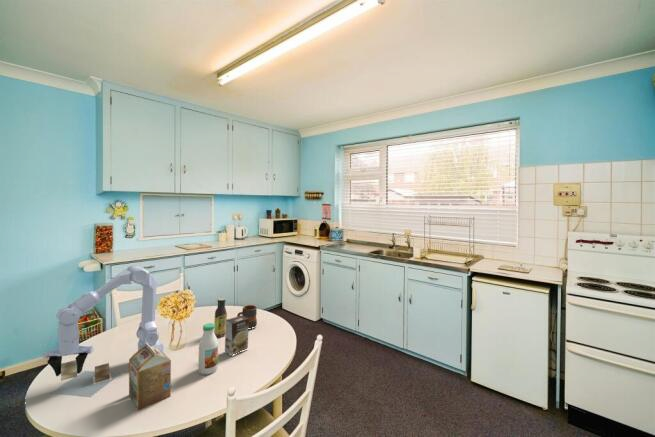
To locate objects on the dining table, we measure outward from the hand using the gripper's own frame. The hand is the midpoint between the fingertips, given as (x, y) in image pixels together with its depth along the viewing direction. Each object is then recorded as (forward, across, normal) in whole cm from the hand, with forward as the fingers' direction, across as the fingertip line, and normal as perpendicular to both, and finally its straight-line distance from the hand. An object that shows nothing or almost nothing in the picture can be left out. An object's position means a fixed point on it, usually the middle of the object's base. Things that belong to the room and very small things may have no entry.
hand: (69, 373), depth 110 cm
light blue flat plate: (+6, -5, -2) cm, 8 cm away
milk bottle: (+6, -49, 0) cm, 49 cm away
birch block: (+1, 0, 0) cm, 1 cm away
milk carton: (+6, -30, +12) cm, 33 cm away
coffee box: (+7, -61, -14) cm, 63 cm away
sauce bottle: (+7, -53, -33) cm, 63 cm away
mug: (+7, -67, -39) cm, 78 cm away
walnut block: (+6, -9, -4) cm, 11 cm away
